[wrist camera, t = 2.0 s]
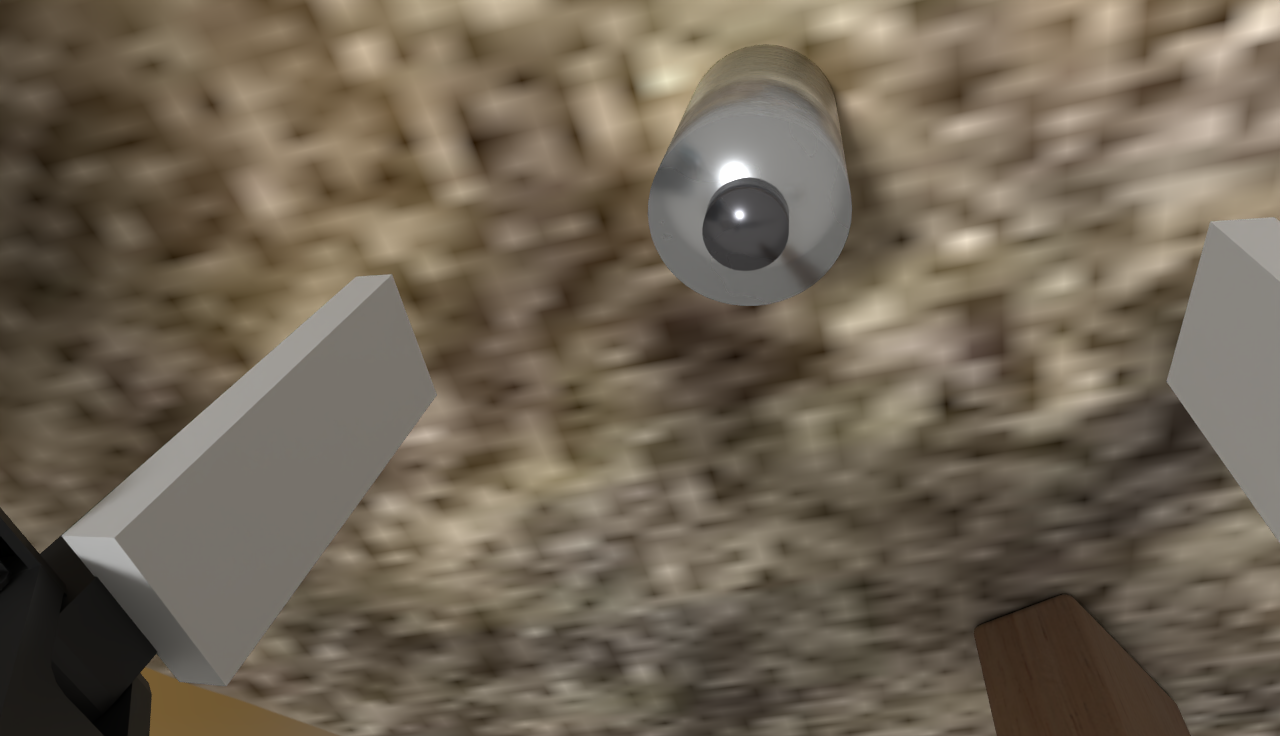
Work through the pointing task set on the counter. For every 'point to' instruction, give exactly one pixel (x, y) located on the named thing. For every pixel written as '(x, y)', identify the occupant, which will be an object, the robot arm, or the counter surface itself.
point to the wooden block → (1068, 677)
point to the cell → (754, 181)
